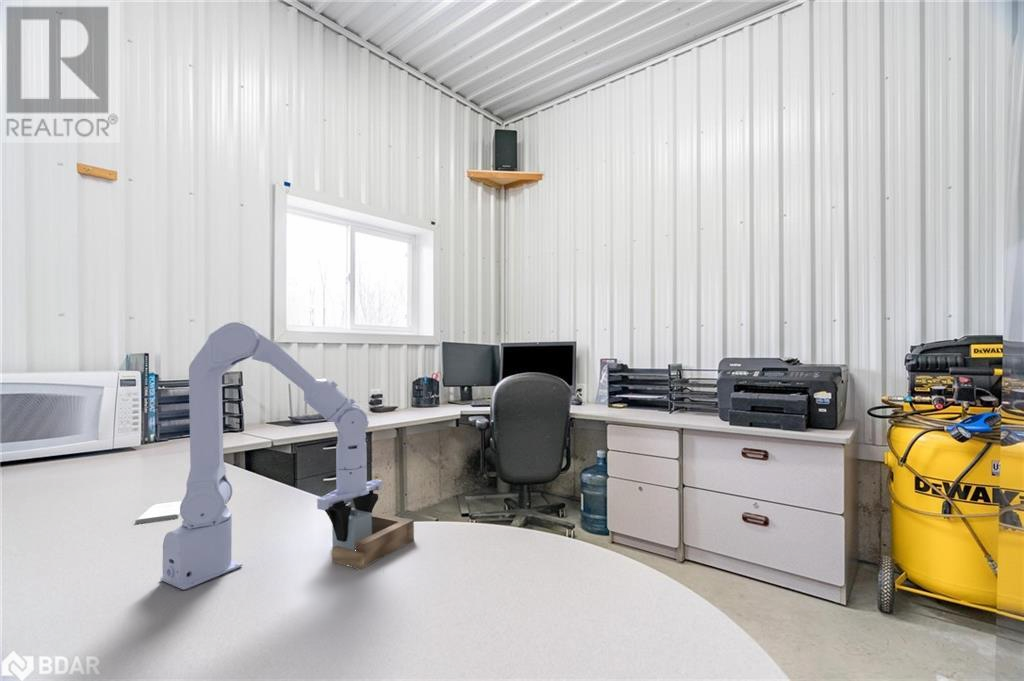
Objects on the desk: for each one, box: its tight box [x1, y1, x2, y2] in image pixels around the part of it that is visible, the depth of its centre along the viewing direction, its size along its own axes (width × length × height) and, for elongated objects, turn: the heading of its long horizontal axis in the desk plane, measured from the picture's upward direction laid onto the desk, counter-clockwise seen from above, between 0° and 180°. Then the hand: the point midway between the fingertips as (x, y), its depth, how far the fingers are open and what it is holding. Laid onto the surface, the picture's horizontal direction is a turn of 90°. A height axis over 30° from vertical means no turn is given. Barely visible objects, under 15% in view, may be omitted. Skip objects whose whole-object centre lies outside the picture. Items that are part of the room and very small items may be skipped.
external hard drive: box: [134, 500, 182, 525], centre depth 110 cm, size 2×8×12 cm
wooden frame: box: [331, 507, 415, 570], centre depth 88 cm, size 14×19×4 cm
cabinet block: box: [331, 507, 372, 550], centre depth 88 cm, size 4×6×7 cm
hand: (352, 535), depth 88 cm, fingers closed on cabinet block, 4 cm apart
